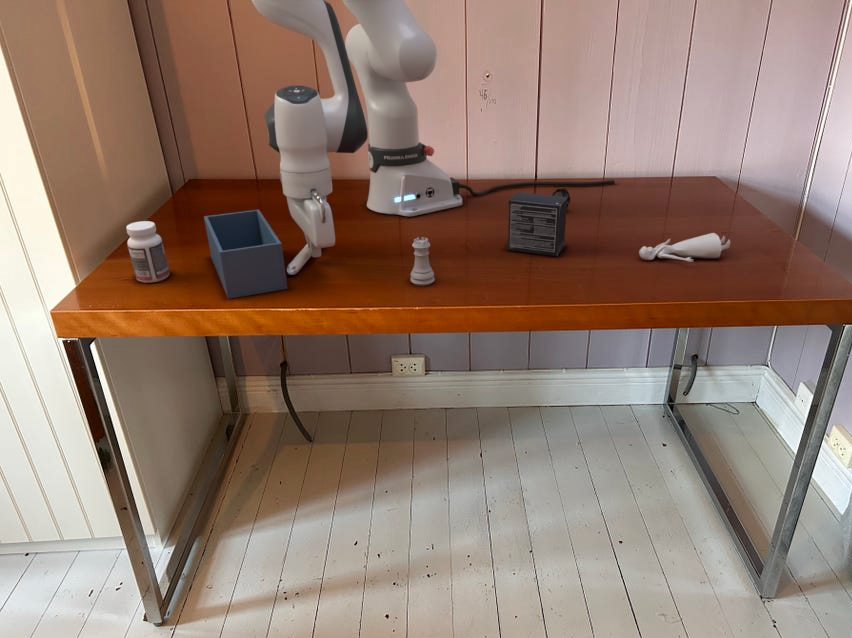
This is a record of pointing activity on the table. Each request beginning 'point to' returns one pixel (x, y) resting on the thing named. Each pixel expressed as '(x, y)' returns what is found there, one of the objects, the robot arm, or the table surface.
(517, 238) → the small box
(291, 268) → the marker
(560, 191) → the smartwatch
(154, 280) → the pill bottle
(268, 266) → the blue box
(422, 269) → the rook chess piece
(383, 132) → the robot arm
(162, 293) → the table surface
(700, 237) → the woman figurine
